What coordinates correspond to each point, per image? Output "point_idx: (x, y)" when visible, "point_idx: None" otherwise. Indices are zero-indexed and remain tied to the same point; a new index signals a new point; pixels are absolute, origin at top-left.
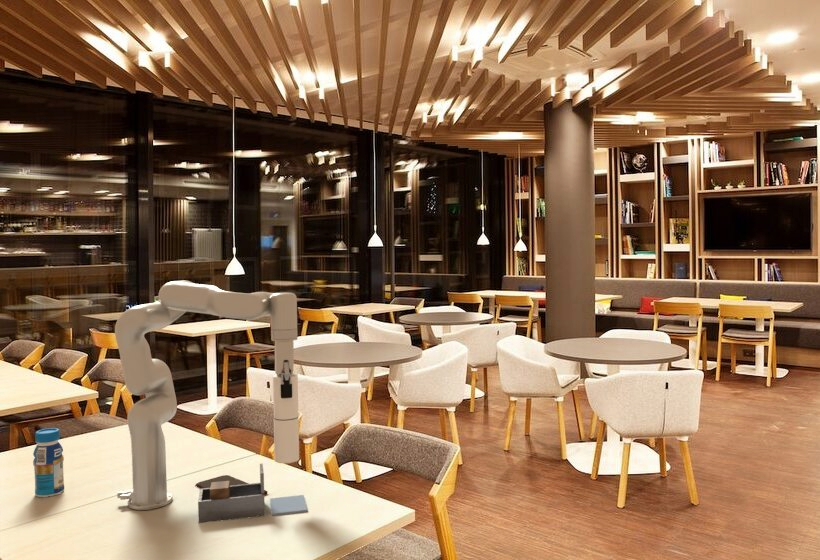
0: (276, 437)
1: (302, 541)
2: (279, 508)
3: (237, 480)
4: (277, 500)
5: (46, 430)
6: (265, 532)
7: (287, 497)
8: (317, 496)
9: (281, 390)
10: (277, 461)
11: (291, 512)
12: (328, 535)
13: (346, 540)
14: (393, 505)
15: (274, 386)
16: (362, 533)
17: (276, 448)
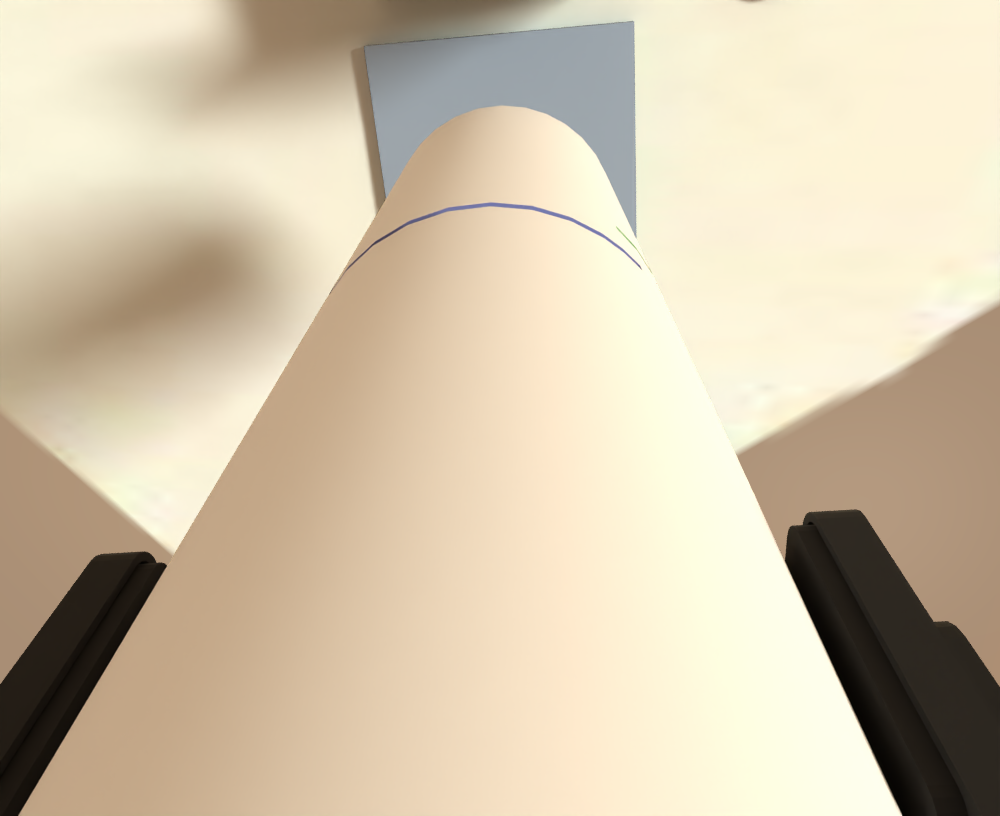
0: (405, 181)
1: (9, 225)
2: (442, 93)
3: None
4: (584, 76)
5: None
6: (119, 11)
7: (620, 144)
8: None
9: (3, 706)
10: (428, 137)
11: (383, 169)
12: (84, 351)
13: (31, 423)
14: None
15: (216, 586)
16: (108, 491)
17: (422, 152)
